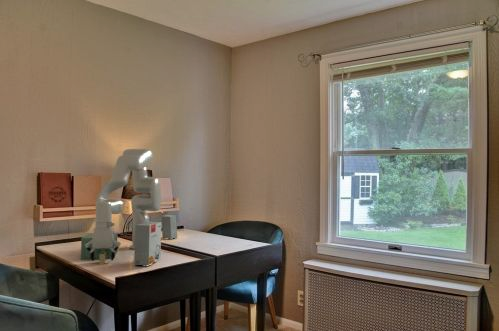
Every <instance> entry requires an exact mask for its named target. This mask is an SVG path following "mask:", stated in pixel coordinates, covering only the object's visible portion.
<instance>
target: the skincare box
mask: <svg viewBox="0 0 499 331" xmlns="http://www.w3.org/2000/svg"><path fill="white" fill-rule="evenodd" d="M177 222H178V221H177V215H176V214H175V215H173V214H167V215H166V214H165V215H162V216H161V239H162V238H168V239H167V240H174V239H173V238H176V239H178V226H177V224H178V223H177Z"/></svg>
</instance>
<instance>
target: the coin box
mask: <svg viewBox="0 0 499 331" xmlns="http://www.w3.org/2000/svg"><path fill="white" fill-rule="evenodd" d="M118 235H119V233H118V232H114V240H116V241H118V238H119V237H118ZM92 237H93V232H88V233H86V234H84V235H83V236H82V237H80V238H81V240H80V242H81V245H80V247H81V248H80V260H92V259H91V253H90V252H89V251H88V250H87V248H86V246H85V244H86V243H88V242H89V241H91V240H92ZM89 247H90V248H91V249H92V243H91V244H89ZM113 247H114V248H116V247H117V244H116V243H114V246H113ZM101 252H106V260H107V259H108V260H110V259H111V253H112V250H111V249H110V248H106V249H95V250H94V260H100V253H101ZM117 254H118V249H117V250H116V251H115V256H116V255H117Z"/></svg>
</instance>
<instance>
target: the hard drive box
mask: <svg viewBox="0 0 499 331" xmlns="http://www.w3.org/2000/svg"><path fill="white" fill-rule="evenodd" d="M161 244H162V221H160V222H159V221H149V222H145V223H142V224H138V225H136V226H135V249H133V250H134V255H133V265H149V264H151V263H153V262H155V261H157V260H159V259H160V260H161V254H162V253H161V251H162V250H161V249H162V248H161V246H162V245H161Z"/></svg>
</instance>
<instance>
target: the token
mask: <svg viewBox="0 0 499 331" xmlns="http://www.w3.org/2000/svg"><path fill="white" fill-rule="evenodd" d="M106 262H107V259H106V252H101V253H100V259H99V265H105V263H106Z"/></svg>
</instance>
